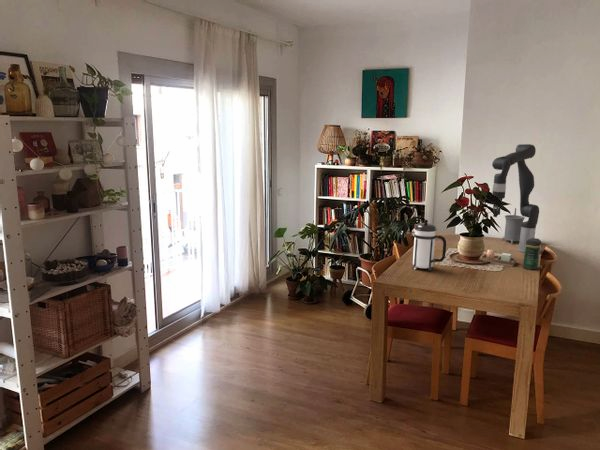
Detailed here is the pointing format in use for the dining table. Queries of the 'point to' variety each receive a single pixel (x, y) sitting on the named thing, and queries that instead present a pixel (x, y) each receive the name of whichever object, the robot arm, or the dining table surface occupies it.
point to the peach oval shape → (490, 254)
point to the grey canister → (513, 227)
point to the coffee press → (426, 246)
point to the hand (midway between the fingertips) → (496, 215)
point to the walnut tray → (498, 260)
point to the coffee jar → (531, 253)
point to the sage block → (506, 257)
